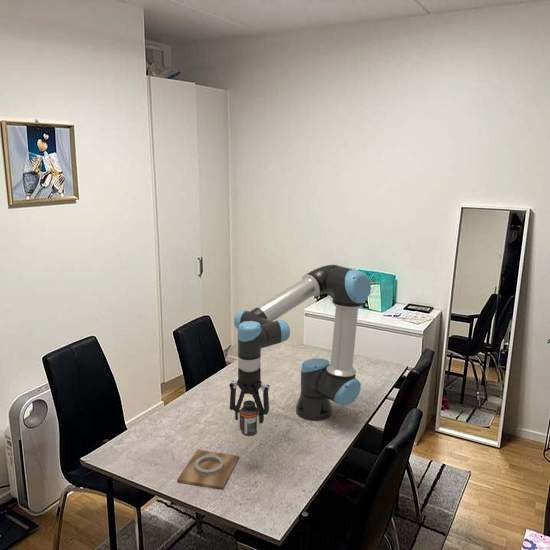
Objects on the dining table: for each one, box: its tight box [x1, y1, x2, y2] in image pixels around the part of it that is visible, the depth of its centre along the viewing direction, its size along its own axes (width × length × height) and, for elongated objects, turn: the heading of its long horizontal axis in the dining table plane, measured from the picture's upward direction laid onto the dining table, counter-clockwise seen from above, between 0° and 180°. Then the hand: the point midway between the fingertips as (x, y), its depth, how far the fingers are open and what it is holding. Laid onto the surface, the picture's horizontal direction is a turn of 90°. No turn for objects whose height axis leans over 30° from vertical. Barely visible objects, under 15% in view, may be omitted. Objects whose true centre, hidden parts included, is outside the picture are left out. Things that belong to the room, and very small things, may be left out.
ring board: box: [176, 449, 240, 491], centre depth 178 cm, size 16×18×3 cm
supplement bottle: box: [240, 399, 258, 437], centre depth 176 cm, size 6×6×11 cm
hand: (249, 429), depth 177 cm, fingers closed on supplement bottle, 6 cm apart
